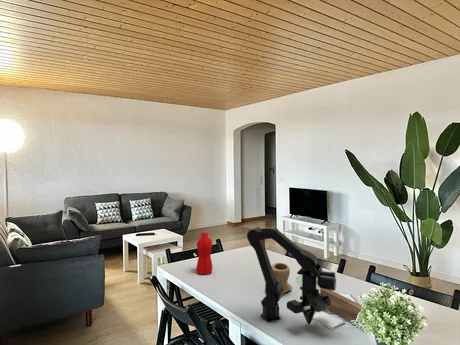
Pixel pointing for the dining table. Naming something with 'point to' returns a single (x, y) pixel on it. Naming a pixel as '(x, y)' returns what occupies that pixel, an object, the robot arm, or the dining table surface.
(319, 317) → the hard drive
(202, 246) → the water bottle
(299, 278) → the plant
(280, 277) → the stone cup
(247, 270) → the dining table surface
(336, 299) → the walnut board
